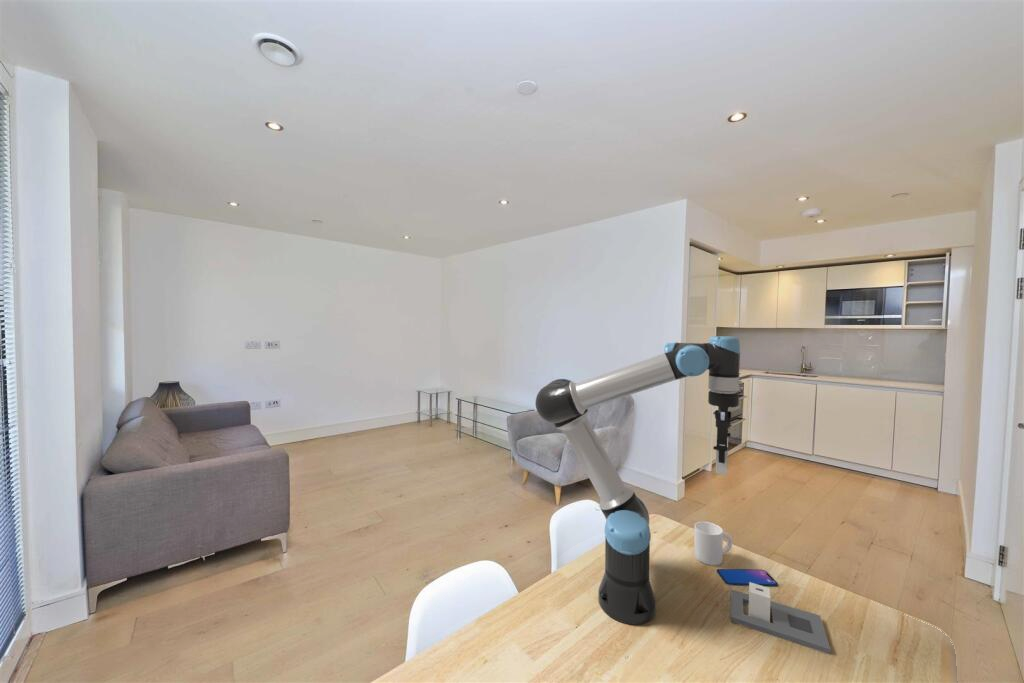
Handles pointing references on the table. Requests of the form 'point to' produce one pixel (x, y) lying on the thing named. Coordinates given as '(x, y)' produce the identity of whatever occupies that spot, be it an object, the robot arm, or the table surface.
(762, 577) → the smartphone
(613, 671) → the table surface
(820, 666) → the table surface
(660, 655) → the table surface
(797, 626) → the outlet plate
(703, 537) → the mug
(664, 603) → the table surface
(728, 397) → the robot arm
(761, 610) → the charger
